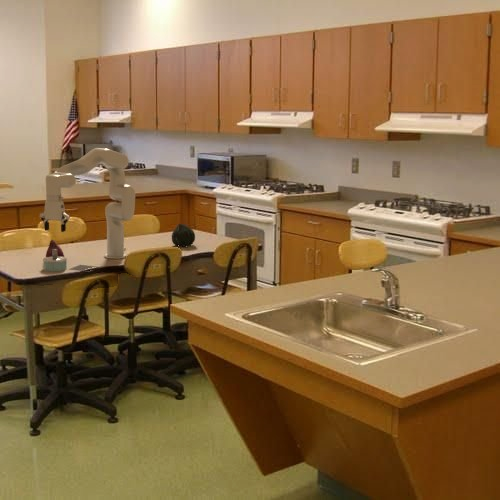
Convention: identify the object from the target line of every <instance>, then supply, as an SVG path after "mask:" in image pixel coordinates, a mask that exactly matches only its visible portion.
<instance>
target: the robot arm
mask: <svg viewBox="0 0 500 500" xmlns="http://www.w3.org/2000/svg"><path fill="white" fill-rule="evenodd" d="M129 163H130V162H129V158H128V156H127V155H126V154H125V153H122V152H118V151H115V150H112V149H110V148H103V147H102V148H100V147H95V148H92V149H91V150H90V151H88V152H87V153H86V154H85V155H83V156H82V157H80V158H78V159H77V160H75V161H72V162H69V163H67V164H64V165H62V166H61V167H59V168H58V169H56V170H55V171H54V172H53V173H52V174H47V175H46V176H45V194H46V195H45V197H46V199H45V202H44V211H43V212H40V213H39V214H38V215H39V217H40V220H42V222H43V224H44V226H43V227H44V231H46V232H47V231H50V222H49V221H58V222H60V223H61V224H60V231H61V233H64V232H66V229H67V226H66V225H67V223H68V222H69V220H70V219H71V218H70V215H68V213H66V210H65V203H64V201H63V200H64V197H63V195H62V189H63V188H64V189H70V188H72V187H74V186H75V185H76V183H77V179H76V177H75V176H83V175H86V174H88V173H90V172H91V171H93V169H95V168H96V167H97V166H99V165H103V166H104V168H106V169H107V171H108V173H109V184H108V185H109V186H108V196H109V198H110V199H111V200H114V202H109V203H107V204H106V206H105V207H104V208H105V209H104V211H105V212H104V214H105V218H106V219H105V220H106V253H105V254H104V258H106V259H110V260H117V259H118V260H121V259H125V258H126V257H125V256H126V255H127V254H126V253H125V252H126V250H127V248H126V247H125V238H124V237H125V227H124V223H123V222H129V221H131V220H132V219H133V217H134V215H135V208H136V207H135V205H136V190H135V189H134V187H133V186H132V185H129V184H126V183H125V182H126V175H125V171H124V170H125V169H126V168H127V167H128V165H129ZM115 201H120V202H115ZM120 258H121V259H120Z"/></svg>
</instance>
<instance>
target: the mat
mask: <svg viewBox="0 0 500 500" xmlns="http://www.w3.org/2000/svg"><path fill="white" fill-rule="evenodd" d="M92 267H97V265H96V266H94V265H85V264H79V265H76V266H74V267H72V268H71V267H70V268H68V270H71V271H79V272H80V271H82V272H84V271H83V270H85V269H88V268H92ZM91 271H93V270H90V271H87V272H88V273H90V272H91Z"/></svg>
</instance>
